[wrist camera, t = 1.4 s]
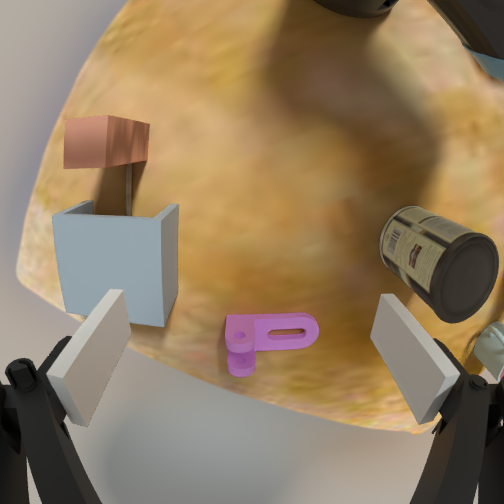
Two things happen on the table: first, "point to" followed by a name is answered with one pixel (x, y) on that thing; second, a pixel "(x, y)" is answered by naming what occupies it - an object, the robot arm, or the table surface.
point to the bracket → (264, 337)
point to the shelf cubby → (118, 261)
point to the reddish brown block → (106, 145)
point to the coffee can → (440, 261)
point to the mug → (492, 349)
